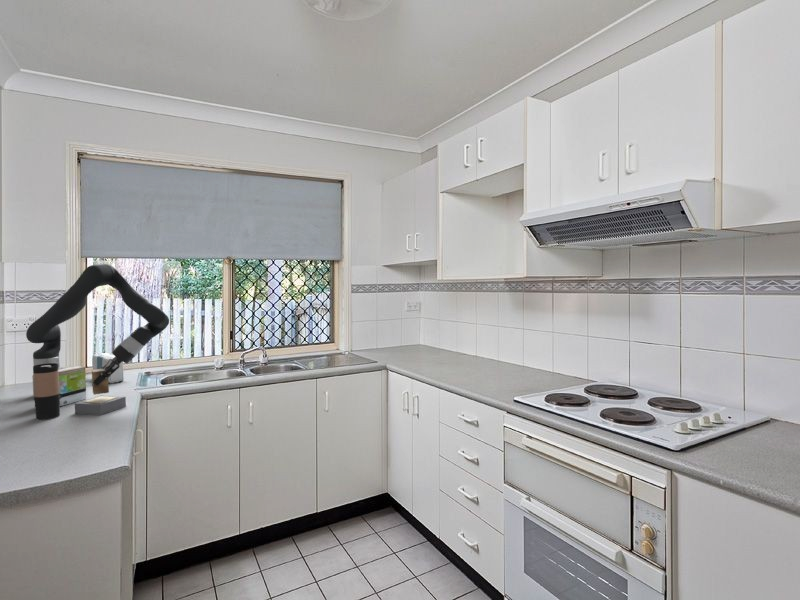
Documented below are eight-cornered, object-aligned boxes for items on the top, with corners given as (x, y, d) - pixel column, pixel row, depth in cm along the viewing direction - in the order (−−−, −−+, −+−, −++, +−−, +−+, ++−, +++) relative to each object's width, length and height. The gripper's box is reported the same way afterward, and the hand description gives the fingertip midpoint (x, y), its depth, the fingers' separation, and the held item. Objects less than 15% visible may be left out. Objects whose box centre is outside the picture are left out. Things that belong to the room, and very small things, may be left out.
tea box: (54, 409, 182) (52, 373, 181) (34, 407, 184) (32, 372, 183) (87, 399, 196) (85, 365, 196) (68, 398, 198) (66, 365, 198)
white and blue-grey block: (92, 379, 235) (90, 341, 234) (109, 376, 242) (108, 339, 241) (108, 384, 223) (106, 344, 222) (126, 381, 229) (124, 342, 228)
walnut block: (93, 394, 176) (92, 371, 176) (92, 392, 180) (91, 370, 180) (108, 392, 179) (107, 370, 179) (107, 390, 183) (106, 368, 183)
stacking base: (75, 413, 175) (74, 402, 175) (101, 404, 187) (100, 394, 187) (100, 415, 173) (100, 404, 173) (125, 406, 184) (125, 396, 184)
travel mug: (39, 415, 173) (37, 364, 172) (63, 413, 176) (61, 362, 175) (31, 421, 166) (29, 367, 165) (56, 418, 169) (54, 366, 168)
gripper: (118, 341, 189) (84, 374, 182) (122, 345, 178) (87, 380, 171) (133, 353, 192) (101, 385, 186) (138, 357, 181) (104, 391, 174)
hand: (94, 382), depth 178 cm, fingers closed on walnut block, 5 cm apart
